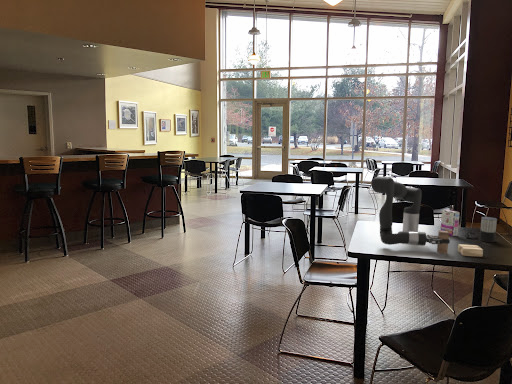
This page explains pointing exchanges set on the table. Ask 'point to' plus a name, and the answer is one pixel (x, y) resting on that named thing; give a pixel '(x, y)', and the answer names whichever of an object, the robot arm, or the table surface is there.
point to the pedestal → (470, 250)
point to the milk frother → (485, 230)
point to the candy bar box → (450, 222)
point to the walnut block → (444, 246)
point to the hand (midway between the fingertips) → (448, 240)
